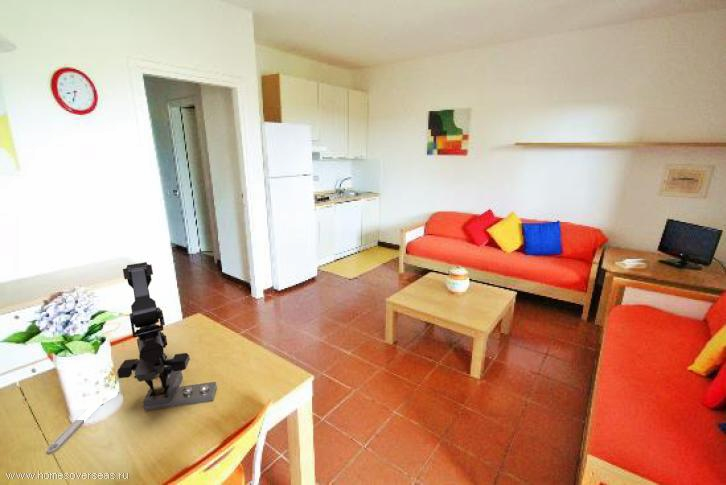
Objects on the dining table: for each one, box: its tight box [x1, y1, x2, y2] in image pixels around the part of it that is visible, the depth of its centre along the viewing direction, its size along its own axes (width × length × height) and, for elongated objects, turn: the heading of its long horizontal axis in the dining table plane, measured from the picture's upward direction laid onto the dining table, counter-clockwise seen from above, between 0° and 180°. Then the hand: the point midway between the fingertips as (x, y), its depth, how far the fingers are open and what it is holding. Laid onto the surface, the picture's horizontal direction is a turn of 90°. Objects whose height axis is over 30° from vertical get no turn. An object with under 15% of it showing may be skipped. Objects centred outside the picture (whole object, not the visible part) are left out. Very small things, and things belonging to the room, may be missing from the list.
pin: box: [152, 373, 166, 396], centre depth 109 cm, size 4×4×9 cm
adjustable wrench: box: [46, 419, 85, 455], centre depth 104 cm, size 25×6×2 cm, turn 177°
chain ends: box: [142, 370, 218, 412], centre depth 114 cm, size 15×20×5 cm
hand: (159, 388), depth 109 cm, fingers closed on pin, 3 cm apart
